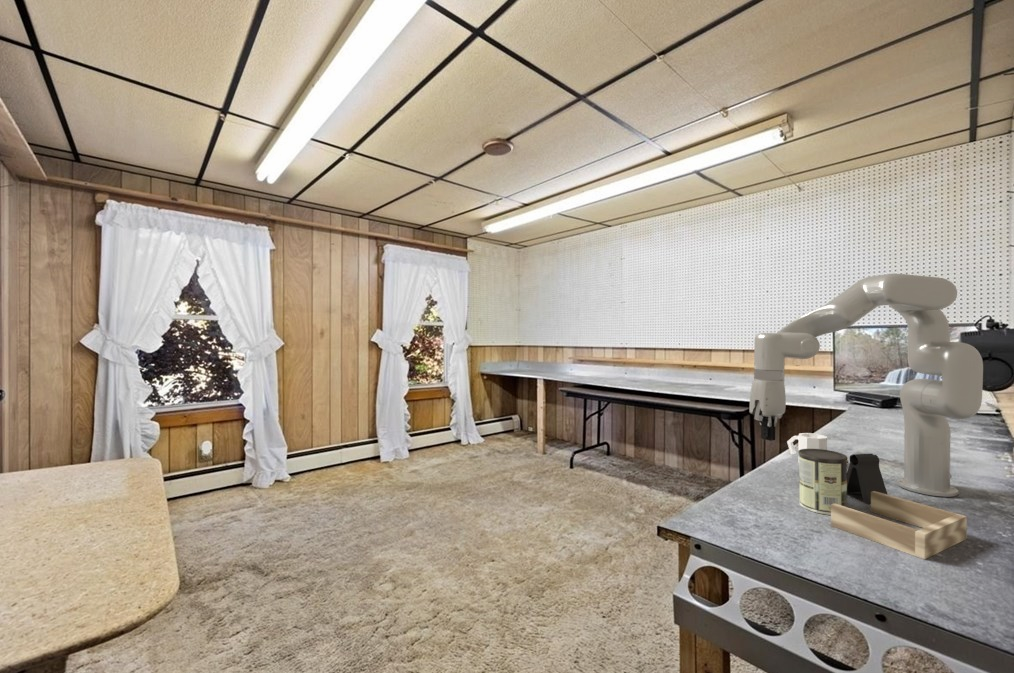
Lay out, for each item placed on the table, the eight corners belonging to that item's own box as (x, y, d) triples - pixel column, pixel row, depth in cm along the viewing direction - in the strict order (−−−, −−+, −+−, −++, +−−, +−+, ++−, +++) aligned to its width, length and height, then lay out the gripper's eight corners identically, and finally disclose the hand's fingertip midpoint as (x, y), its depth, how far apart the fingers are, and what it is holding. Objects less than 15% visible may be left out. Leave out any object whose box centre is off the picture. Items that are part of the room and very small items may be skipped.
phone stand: (890, 504, 115) (890, 458, 115) (869, 505, 114) (869, 459, 114) (859, 491, 124) (859, 449, 124) (840, 492, 123) (840, 450, 123)
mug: (832, 465, 148) (832, 436, 147) (820, 469, 143) (820, 440, 143) (793, 456, 158) (793, 429, 158) (781, 460, 153) (781, 433, 153)
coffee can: (822, 498, 119) (822, 447, 119) (858, 514, 109) (858, 458, 109) (788, 501, 117) (788, 449, 117) (822, 517, 107) (822, 460, 107)
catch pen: (874, 510, 111) (874, 490, 111) (966, 538, 95) (966, 516, 95) (830, 525, 103) (830, 504, 102) (924, 559, 87) (924, 534, 87)
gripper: (772, 373, 132) (771, 434, 132) (739, 375, 125) (738, 439, 126) (798, 376, 125) (797, 439, 125) (764, 378, 119) (763, 445, 119)
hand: (768, 439), depth 125 cm, fingers closed
